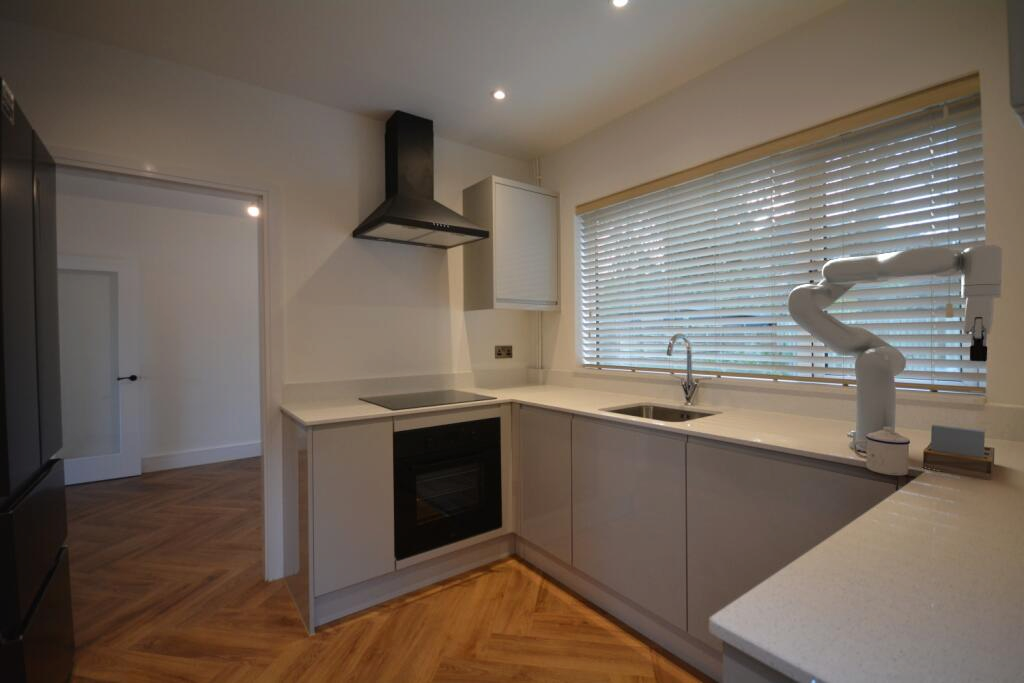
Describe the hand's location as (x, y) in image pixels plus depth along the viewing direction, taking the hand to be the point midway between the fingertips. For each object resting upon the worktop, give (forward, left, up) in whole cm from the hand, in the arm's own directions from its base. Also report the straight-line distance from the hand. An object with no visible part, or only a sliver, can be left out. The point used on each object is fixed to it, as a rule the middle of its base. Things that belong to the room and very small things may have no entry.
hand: (978, 360), depth 125 cm
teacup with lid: (-3, -27, -29) cm, 40 cm away
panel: (+2, -8, -28) cm, 29 cm away
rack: (-2, -2, -29) cm, 29 cm away
